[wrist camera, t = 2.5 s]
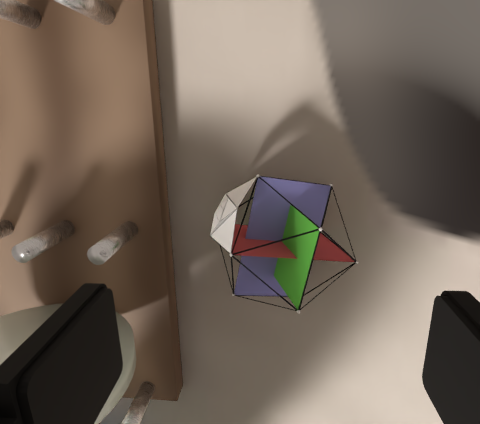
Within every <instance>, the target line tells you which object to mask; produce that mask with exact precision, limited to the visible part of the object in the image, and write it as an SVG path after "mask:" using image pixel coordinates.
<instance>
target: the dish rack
mask: <svg viewBox="0 0 480 424" xmlns="http://www.w3.org/2000/svg"><path fill="white" fill-rule="evenodd" d="M16 1H19V2H21V3H23V4H26V5H28V6H31V7H33V8H35V9H37V10H38V12H39V13H40V15H41V24H40V26H39V27H37V28H35V29H32V28H29V27H26V26H23V25H20V24H16V23H13V22H10V21H7V20H4V19H1V18H0V221H1V220H8V221H10V222H11V223H12V224H13V226H14V231H13V233H12V234H10V235H8V236H6V237H4V238H1V239H0V316H3V315H6V314H9V313H13V312H16V311H20V310H24V309H29V308H33V307H39V306H44V305H52V304H63V303H64V302H65V301H66V300H68V299H69V298H70V297H71V296H72V295H73V294H74V293H75V292H76V291H77V290H78V289H79V288H80V287H81V286H82V285H83V284H85V283H103V284H105V285H106V286H107V288H110V289H111V290H112V292H113V298H114V304H115V311H116V312H117V313H119V314H120V315H122V316H123V317H124V318H125V319H126V320H127V321H128V323H129V324H130V325H131V328H132V330H133V335H134V343H135V351H136V367H135V371H134V375H133V378H132V380H131V382H130V384H129V386H128V388H127V390H126V391H125V393H124V395H123V396H122V397H126V398H135V396H136V394H137V392H138V390H139V388H140V386H141V384H142V383H143V382H145V381H149V382H151V383H153V384H154V386H155V390H154V393H153V395H152V397H151V399H156V400H170V401H177V400H178V397H179V394H180V392H181V389H182V386H183V380H182V367H181V355H180V342H179V330H178V317H177V304H176V292H175V279H174V267H173V254H172V242H171V229H170V216H169V204H168V191H167V179H166V166H165V153H164V141H163V128H162V116H161V103H160V90H159V78H158V65H157V53H156V40H155V28H154V15H153V2H152V0H103V1H105V2H106V3H108V4H110V5H111V6H112V7H113V9H114V11H115V19H114V21H113V22H112V23H111V24H110V25H103V24H101V23H99V22H97V21H95V20H93V19H91V18H89V17H87V16H85V15H83V14H81V13H79V12H77V11H75V10H72V9H70V8H68V7H66V6H64V5H62V4H60V3H58V2H56V1H54V0H16ZM64 220H67V221H70V222H71V223H72V224H73V225H74V228H75V231H74V233H73V234H72V235H71V236H69V237H68V238H66V239H64V240H63V241H61V242H59V243H58V244H56V245H54V246H53V247H51V248H49V249H48V250H46V251H44V252H43V253H41V254H39V255H38V256H36V257H35V258H33V259H31V260H30V261H28V262H26V263H20V262H18V261H16V260H15V259H14V257H13V256H12V248H13V247H14V246H15V245H17V244H19V243H21V242H23V241H25V240H27V239H28V238H30V237H32V236H34V235H36V234H38V233H40V232H42V231H44V230H46V229H48V228H50V227H52V226H54V225H56V224H58V223H60V222H61V221H64ZM126 221H132V222H134V223H135V224H136V225H137V227H138V233H137V234H136V235H135V236H134V237H133V238H132V239H131V240H130V241H129V242H127V243H126V244H125V245H124V246H123V247H122V248H121V249H120V250H118V251H117V252H116V253H115V254H114V255H113V256H112V257H110V258H109V259H108V260H107V261H106V262H105V263H104V264H101V265H96V264H93V263H92V262H91V261H90V260H89V259H88V256H87V252H88V250H89V248H90V247H92V246H93V245H95V244H96V243H97V242H99V241H100V240H101V239H103V238H104V237H105V236H107V235H108V234H110V233H111V232H112V231H114V230H115V229H116V228H118V227H119V226H120V225H122V224H123V223H125V222H126Z"/></svg>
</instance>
